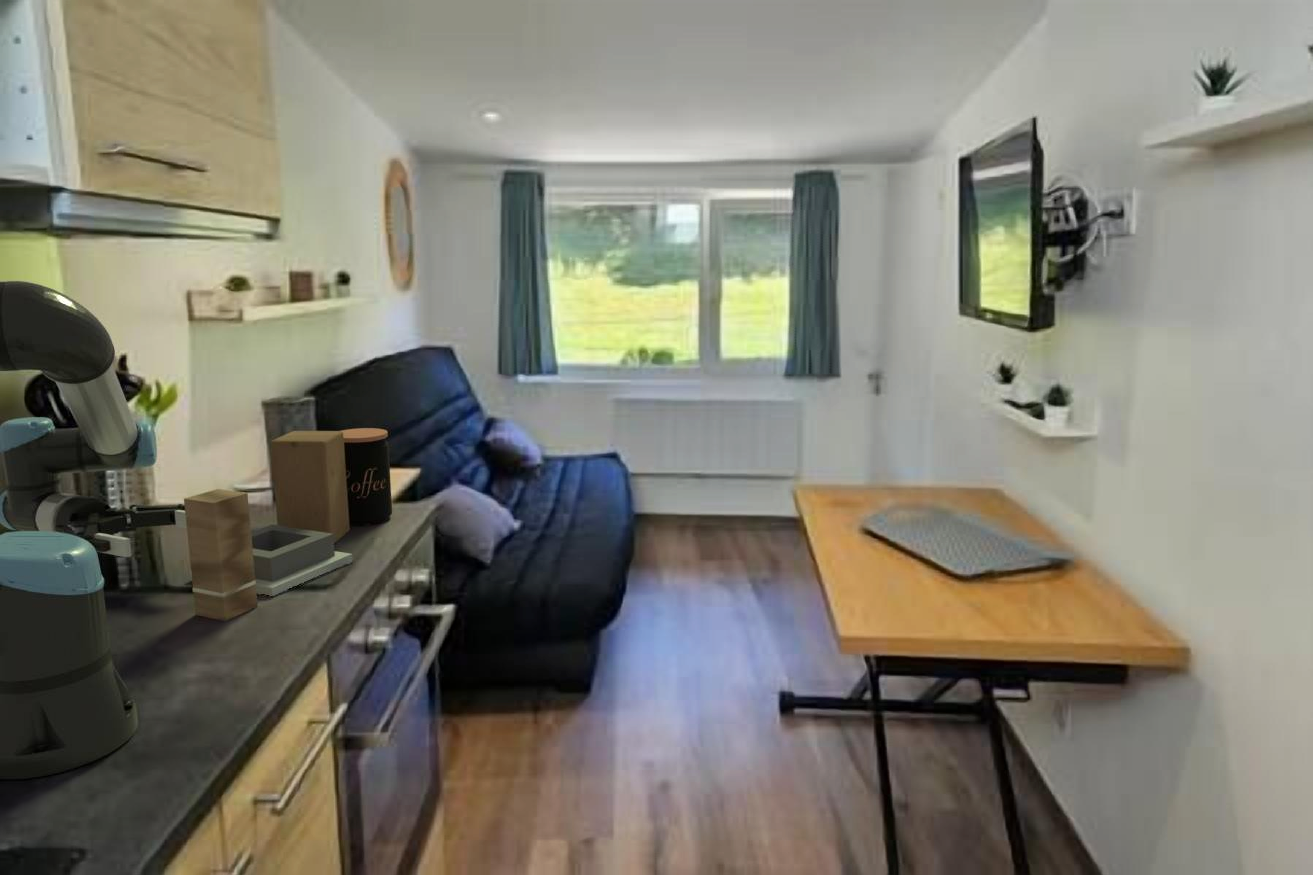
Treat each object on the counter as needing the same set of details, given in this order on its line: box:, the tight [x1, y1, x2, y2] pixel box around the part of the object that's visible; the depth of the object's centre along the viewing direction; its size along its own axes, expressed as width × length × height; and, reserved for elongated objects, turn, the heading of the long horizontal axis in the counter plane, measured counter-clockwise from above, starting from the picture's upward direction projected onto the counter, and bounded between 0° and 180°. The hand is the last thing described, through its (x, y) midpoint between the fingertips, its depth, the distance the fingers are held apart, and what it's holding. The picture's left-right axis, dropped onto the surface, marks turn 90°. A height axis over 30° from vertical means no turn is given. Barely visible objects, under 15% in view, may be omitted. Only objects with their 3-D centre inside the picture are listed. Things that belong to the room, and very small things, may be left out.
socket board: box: [189, 524, 353, 597], centre depth 153 cm, size 18×18×6 cm
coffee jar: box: [340, 427, 393, 527], centre depth 182 cm, size 11×11×18 cm
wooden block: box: [270, 430, 351, 544], centre depth 169 cm, size 10×10×20 cm
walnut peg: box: [183, 488, 258, 622], centre depth 134 cm, size 6×6×18 cm
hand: (169, 534), depth 138 cm, fingers open, 13 cm apart
